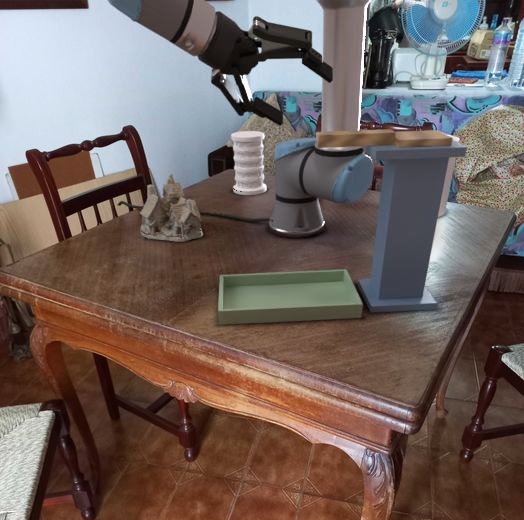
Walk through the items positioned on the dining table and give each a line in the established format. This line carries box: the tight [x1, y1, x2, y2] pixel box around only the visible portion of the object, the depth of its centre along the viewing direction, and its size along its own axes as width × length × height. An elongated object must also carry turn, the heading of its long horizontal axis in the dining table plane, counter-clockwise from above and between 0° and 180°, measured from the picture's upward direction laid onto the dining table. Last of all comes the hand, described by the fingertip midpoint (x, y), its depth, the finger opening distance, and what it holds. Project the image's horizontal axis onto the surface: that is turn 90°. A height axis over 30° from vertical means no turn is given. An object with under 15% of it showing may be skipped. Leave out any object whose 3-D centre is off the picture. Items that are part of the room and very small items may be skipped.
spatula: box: [315, 128, 453, 148], centre depth 80 cm, size 22×7×2 cm, turn 93°
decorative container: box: [230, 130, 268, 196], centre depth 158 cm, size 12×12×18 cm
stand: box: [356, 140, 468, 314], centre depth 89 cm, size 15×12×30 cm
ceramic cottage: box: [139, 173, 204, 243], centre depth 127 cm, size 16×16×15 cm
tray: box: [217, 268, 364, 326], centre depth 96 cm, size 28×16×3 cm, turn 93°
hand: (305, 98), depth 88 cm, fingers open, 13 cm apart
